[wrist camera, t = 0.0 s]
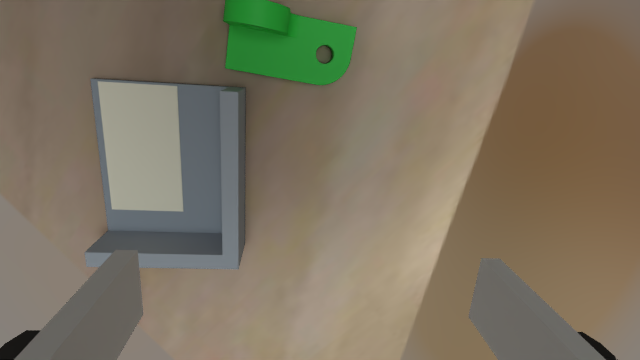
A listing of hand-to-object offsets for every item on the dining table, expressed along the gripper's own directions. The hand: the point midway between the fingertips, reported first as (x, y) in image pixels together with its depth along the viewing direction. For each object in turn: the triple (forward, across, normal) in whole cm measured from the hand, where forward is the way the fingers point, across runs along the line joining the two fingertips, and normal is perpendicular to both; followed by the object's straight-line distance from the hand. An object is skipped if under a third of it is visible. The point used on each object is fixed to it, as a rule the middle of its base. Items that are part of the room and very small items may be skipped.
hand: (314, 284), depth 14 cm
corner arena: (+28, -13, -4) cm, 31 cm away
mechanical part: (+28, -1, +9) cm, 30 cm away
